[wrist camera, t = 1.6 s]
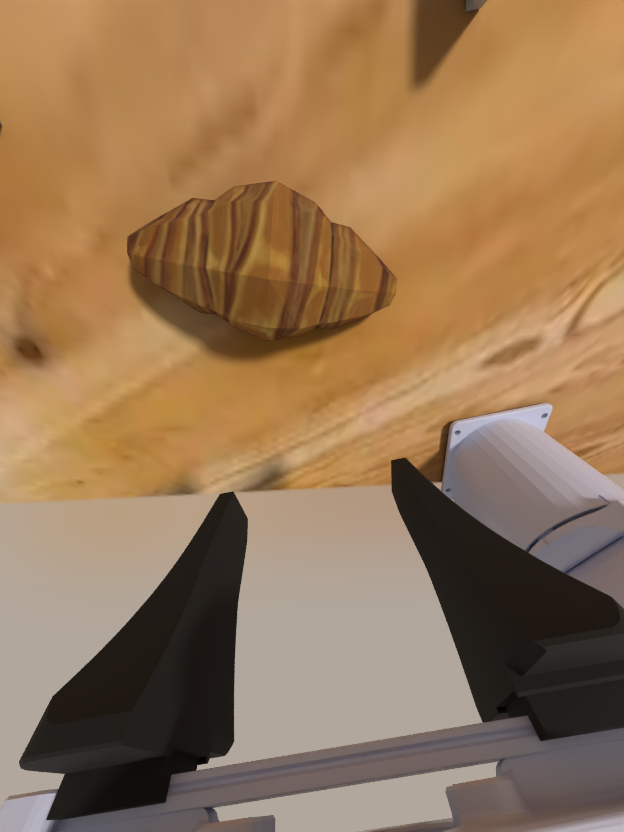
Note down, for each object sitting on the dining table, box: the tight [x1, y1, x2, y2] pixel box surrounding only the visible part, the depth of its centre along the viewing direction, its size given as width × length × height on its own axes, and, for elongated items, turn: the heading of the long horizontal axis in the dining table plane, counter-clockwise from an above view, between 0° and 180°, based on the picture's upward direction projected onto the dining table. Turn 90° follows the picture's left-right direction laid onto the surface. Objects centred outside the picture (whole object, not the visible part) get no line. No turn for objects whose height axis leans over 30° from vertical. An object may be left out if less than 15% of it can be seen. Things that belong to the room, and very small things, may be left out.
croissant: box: [127, 181, 397, 341], centre depth 13 cm, size 14×7×5 cm, turn 82°
